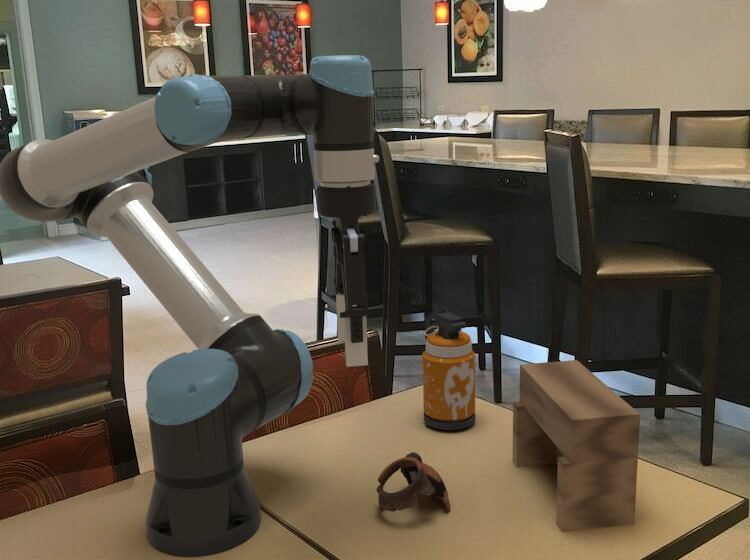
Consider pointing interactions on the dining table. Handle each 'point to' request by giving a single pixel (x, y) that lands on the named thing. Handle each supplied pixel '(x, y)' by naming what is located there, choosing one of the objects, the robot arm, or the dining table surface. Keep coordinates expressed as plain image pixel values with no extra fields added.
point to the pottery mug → (411, 484)
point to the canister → (448, 373)
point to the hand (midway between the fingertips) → (352, 351)
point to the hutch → (579, 442)
